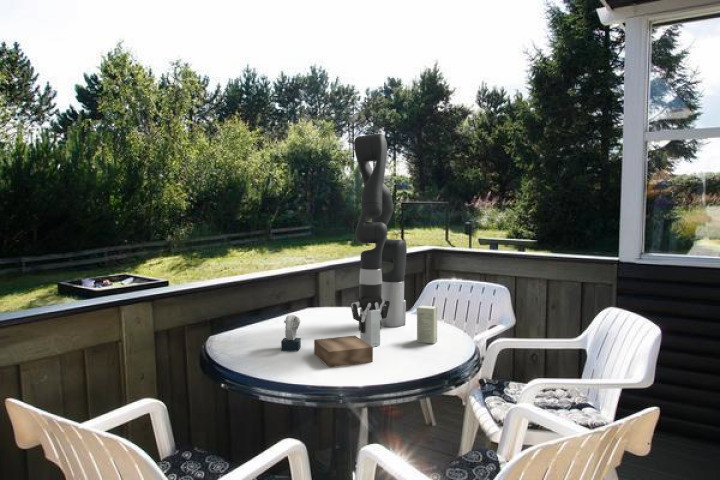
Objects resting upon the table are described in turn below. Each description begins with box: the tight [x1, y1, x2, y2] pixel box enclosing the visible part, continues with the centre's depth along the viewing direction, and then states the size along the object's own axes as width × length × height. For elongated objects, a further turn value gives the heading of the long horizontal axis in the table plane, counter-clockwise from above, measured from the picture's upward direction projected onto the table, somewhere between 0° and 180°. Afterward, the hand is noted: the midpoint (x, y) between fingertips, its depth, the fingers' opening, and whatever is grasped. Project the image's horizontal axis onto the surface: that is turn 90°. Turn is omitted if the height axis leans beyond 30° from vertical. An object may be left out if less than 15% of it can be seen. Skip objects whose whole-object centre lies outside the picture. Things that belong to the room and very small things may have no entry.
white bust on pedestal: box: [280, 314, 302, 352], centre depth 173 cm, size 6×8×11 cm
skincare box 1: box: [359, 308, 381, 348], centre depth 179 cm, size 6×4×12 cm
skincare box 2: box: [416, 305, 438, 344], centre depth 184 cm, size 6×4×12 cm
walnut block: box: [313, 335, 374, 368], centre depth 165 cm, size 14×14×5 cm
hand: (369, 331), depth 179 cm, fingers closed on skincare box 1, 5 cm apart
